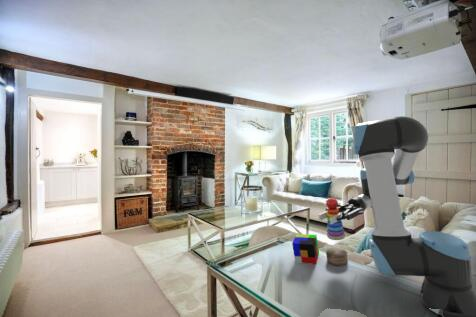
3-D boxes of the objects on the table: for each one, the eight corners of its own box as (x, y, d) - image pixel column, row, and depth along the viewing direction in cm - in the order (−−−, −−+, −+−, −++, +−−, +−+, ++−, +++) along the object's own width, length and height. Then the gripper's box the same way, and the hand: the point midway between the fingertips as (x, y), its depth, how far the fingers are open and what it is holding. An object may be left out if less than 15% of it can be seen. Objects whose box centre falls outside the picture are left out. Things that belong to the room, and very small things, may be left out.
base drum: (352, 262, 108) (350, 254, 107) (334, 268, 106) (333, 259, 105) (339, 253, 116) (338, 246, 116) (323, 258, 115) (322, 251, 114)
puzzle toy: (295, 262, 116) (292, 243, 115) (299, 251, 125) (296, 234, 124) (316, 264, 111) (313, 244, 110) (319, 253, 120) (316, 234, 119)
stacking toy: (347, 240, 105) (342, 200, 103) (328, 241, 107) (322, 202, 105) (343, 232, 113) (338, 194, 110) (326, 233, 114) (320, 196, 112)
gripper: (378, 215, 108) (343, 233, 98) (344, 207, 125) (311, 221, 115) (376, 200, 107) (341, 216, 97) (342, 193, 124) (308, 207, 114)
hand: (324, 219), depth 106 cm, fingers closed on stacking toy, 6 cm apart
